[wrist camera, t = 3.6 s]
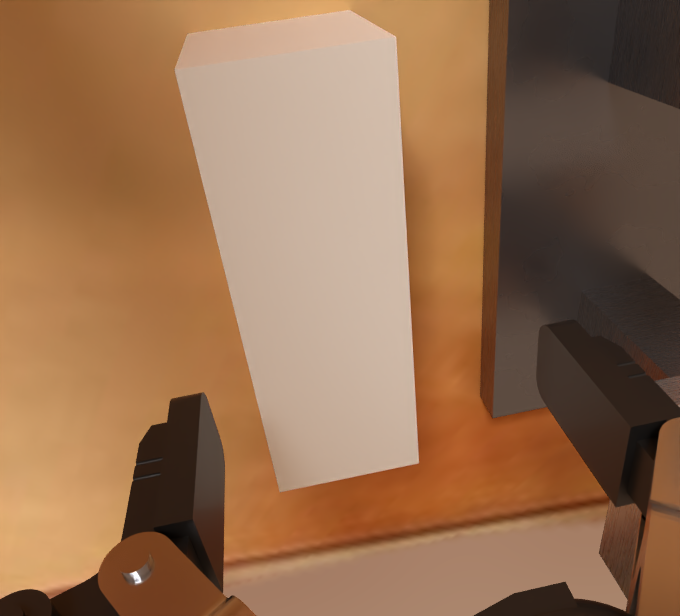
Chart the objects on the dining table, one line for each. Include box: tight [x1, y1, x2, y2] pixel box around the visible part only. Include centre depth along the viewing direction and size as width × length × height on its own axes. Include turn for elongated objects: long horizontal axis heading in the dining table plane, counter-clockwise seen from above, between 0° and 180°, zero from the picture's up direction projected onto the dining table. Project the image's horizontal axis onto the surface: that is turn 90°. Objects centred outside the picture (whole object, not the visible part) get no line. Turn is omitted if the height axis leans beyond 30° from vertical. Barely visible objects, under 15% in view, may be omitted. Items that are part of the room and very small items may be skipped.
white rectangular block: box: [174, 10, 419, 492], centre depth 19 cm, size 5×14×6 cm, turn 6°
